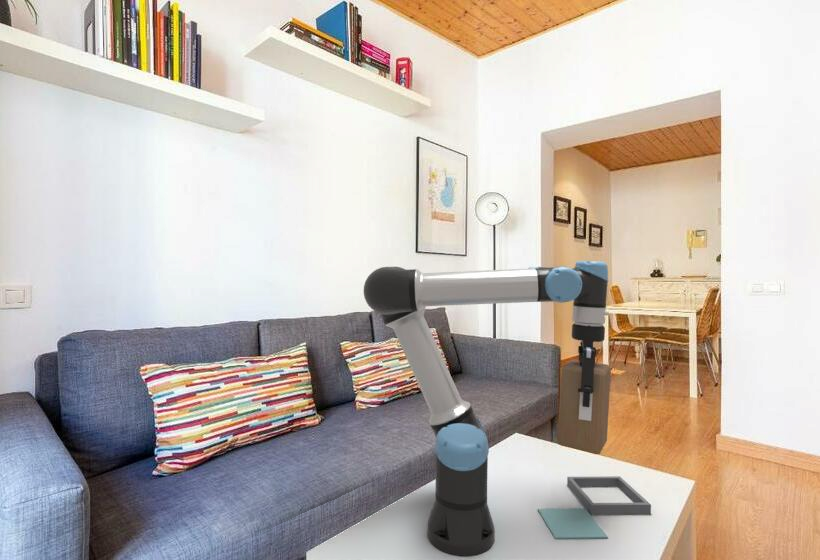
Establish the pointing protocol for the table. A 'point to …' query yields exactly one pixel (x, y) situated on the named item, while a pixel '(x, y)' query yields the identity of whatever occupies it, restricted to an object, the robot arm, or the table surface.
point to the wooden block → (570, 426)
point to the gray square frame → (634, 508)
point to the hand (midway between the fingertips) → (583, 412)
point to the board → (571, 523)
